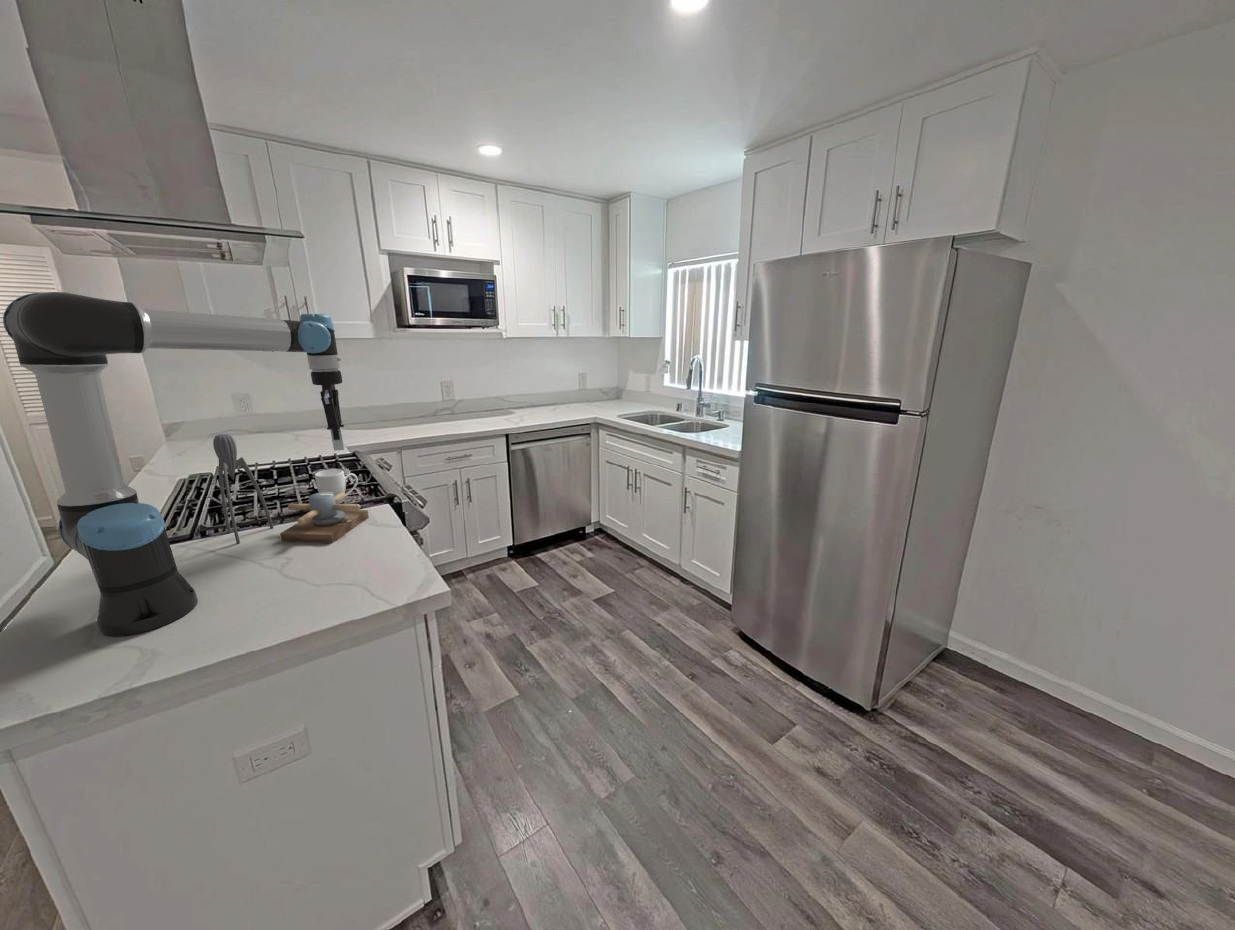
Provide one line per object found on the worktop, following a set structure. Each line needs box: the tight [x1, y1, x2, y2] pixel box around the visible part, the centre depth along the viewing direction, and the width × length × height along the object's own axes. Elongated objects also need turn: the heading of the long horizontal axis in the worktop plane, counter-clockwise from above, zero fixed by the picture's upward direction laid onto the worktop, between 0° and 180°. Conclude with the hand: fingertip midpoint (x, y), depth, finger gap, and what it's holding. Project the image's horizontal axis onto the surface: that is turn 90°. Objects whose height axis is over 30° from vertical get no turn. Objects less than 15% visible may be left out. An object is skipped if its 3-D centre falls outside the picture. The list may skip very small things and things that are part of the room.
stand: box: [279, 509, 369, 544], centre depth 142 cm, size 18×15×4 cm
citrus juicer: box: [212, 433, 274, 545], centre depth 135 cm, size 11×10×30 cm
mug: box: [314, 468, 359, 504], centre depth 161 cm, size 12×8×11 cm
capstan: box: [287, 492, 361, 526], centre depth 140 cm, size 21×21×8 cm
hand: (339, 449), depth 144 cm, fingers closed
